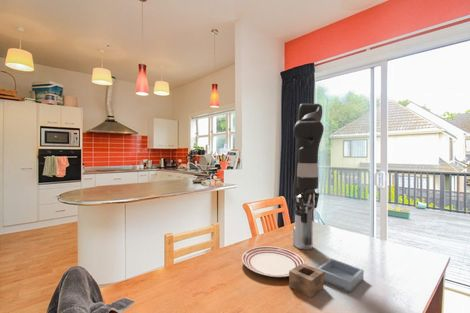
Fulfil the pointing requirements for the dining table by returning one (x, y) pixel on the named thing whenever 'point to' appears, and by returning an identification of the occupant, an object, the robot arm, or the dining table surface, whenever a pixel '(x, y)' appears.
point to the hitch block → (306, 280)
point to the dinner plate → (271, 261)
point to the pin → (307, 226)
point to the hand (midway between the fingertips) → (306, 221)
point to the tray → (341, 275)
